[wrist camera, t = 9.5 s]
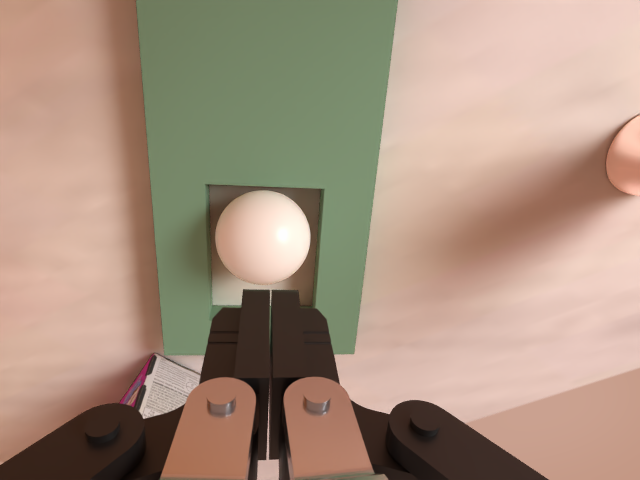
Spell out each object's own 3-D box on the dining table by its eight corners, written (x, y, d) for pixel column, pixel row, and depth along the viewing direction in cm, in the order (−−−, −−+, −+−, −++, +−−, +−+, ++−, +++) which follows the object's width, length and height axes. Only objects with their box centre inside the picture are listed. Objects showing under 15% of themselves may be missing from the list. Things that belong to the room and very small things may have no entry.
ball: (214, 303, 29) (220, 233, 32) (308, 303, 29) (303, 234, 33) (207, 241, 24) (216, 168, 28) (318, 242, 25) (311, 172, 29)
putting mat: (140, -63, 24) (130, -71, 22) (393, -37, 26) (403, -43, 24) (169, 338, 35) (164, 355, 33) (349, 338, 36) (354, 354, 34)
